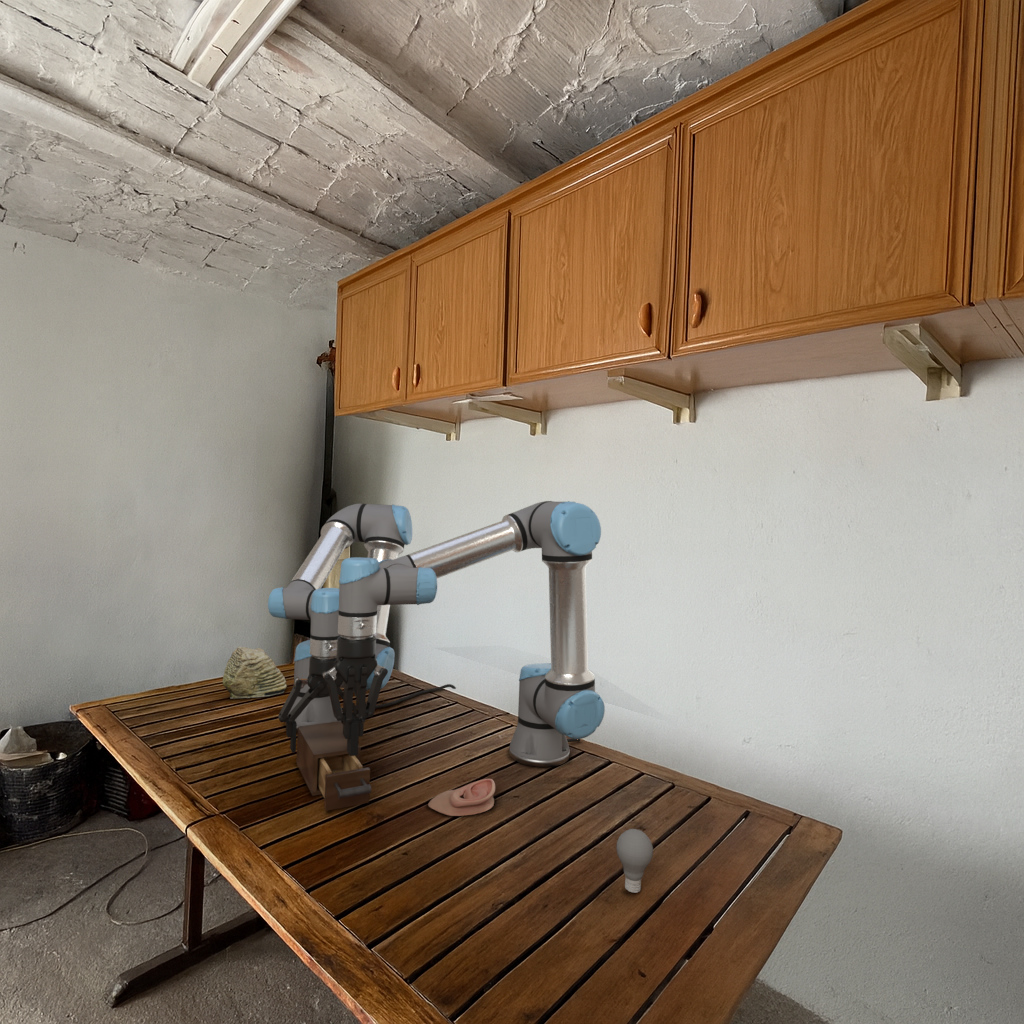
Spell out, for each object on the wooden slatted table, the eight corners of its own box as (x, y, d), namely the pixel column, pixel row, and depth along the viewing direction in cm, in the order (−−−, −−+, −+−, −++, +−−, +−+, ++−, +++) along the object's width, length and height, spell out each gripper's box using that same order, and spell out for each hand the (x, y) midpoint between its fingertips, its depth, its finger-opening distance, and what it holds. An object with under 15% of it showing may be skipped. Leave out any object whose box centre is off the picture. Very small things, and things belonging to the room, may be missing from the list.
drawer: (376, 814, 126) (378, 779, 126) (331, 823, 121) (333, 788, 121) (347, 770, 145) (349, 740, 145) (308, 777, 141) (309, 746, 140)
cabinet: (359, 787, 139) (360, 747, 139) (312, 796, 134) (313, 754, 134) (338, 756, 154) (340, 721, 154) (296, 763, 150) (297, 726, 149)
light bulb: (610, 879, 108) (613, 822, 108) (644, 879, 109) (647, 822, 109) (619, 902, 102) (622, 840, 102) (655, 901, 103) (658, 840, 103)
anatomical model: (423, 792, 129) (441, 769, 140) (422, 812, 129) (440, 787, 140) (487, 801, 126) (499, 777, 137) (486, 821, 126) (498, 795, 137)
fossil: (218, 695, 195) (220, 647, 195) (278, 685, 208) (279, 640, 207) (228, 703, 189) (230, 653, 188) (289, 692, 201) (290, 645, 201)
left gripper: (272, 664, 138) (269, 760, 139) (383, 654, 150) (380, 743, 151) (267, 656, 145) (264, 747, 145) (374, 647, 157) (370, 732, 157)
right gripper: (328, 641, 120) (323, 765, 120) (394, 637, 126) (389, 754, 126) (319, 633, 126) (314, 751, 127) (382, 629, 133) (378, 741, 133)
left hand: (323, 745), depth 148 cm, fingers open, 13 cm apart
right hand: (352, 752), depth 127 cm, fingers closed
